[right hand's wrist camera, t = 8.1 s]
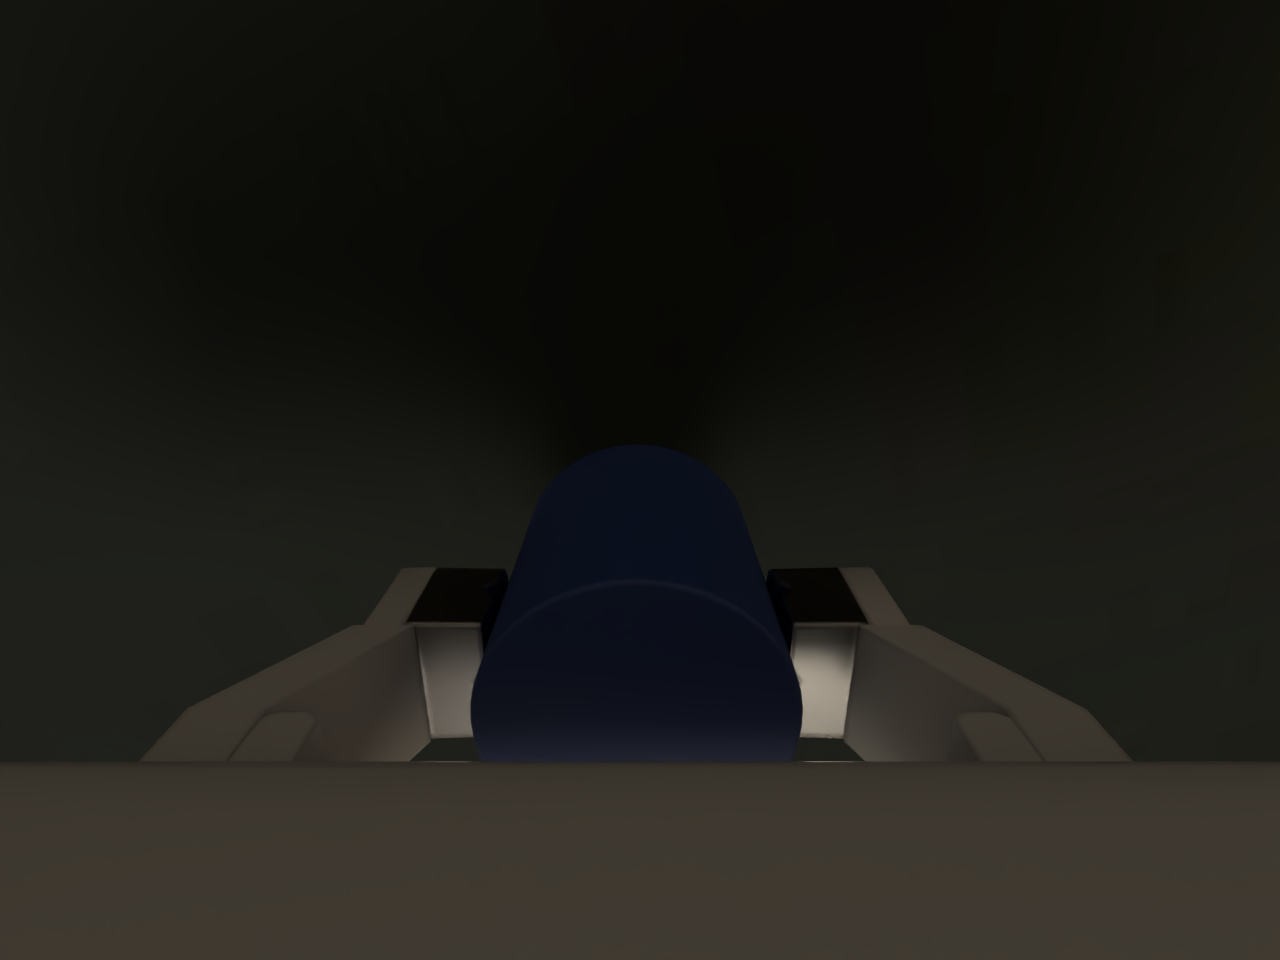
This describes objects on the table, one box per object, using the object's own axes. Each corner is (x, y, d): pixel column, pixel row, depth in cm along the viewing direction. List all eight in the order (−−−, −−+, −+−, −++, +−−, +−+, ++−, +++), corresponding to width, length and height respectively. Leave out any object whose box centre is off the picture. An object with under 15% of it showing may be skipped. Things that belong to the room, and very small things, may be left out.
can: (640, 396, 11) (640, 511, 7) (791, 548, 12) (872, 730, 8) (483, 543, 12) (399, 724, 8) (635, 672, 13) (633, 893, 9)
